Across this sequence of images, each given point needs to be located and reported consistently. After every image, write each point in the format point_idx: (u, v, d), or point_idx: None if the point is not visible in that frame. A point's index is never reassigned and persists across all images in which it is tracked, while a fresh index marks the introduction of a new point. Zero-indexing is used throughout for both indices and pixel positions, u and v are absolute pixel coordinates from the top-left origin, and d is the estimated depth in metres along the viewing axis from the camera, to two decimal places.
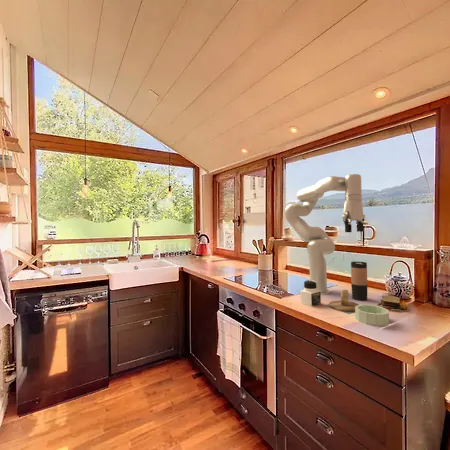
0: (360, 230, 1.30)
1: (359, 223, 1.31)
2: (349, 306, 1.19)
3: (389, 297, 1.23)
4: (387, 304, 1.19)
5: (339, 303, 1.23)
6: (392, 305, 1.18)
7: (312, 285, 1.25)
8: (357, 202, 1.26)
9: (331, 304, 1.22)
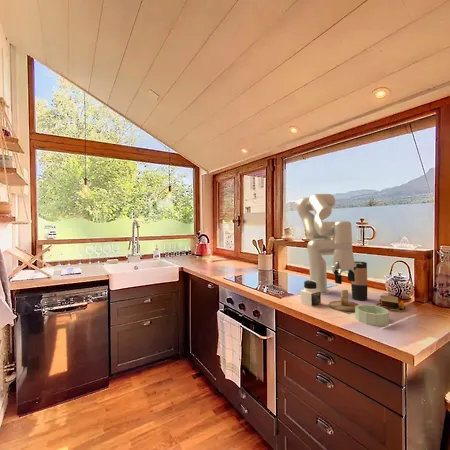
0: (351, 280, 1.22)
1: (350, 272, 1.22)
2: (349, 306, 1.19)
3: (387, 297, 1.23)
4: (386, 304, 1.20)
5: (339, 303, 1.23)
6: (391, 305, 1.19)
7: (312, 285, 1.25)
8: (347, 251, 1.18)
9: (331, 304, 1.22)
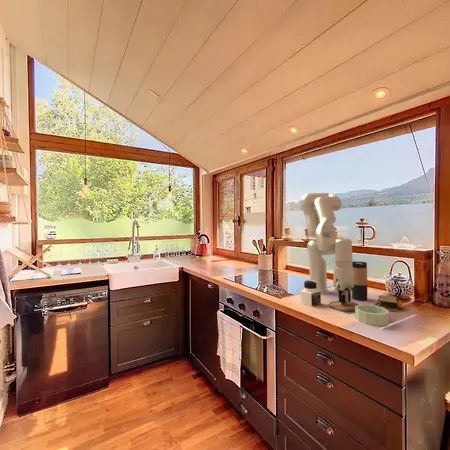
0: None
1: None
2: (349, 306, 1.19)
3: (386, 297, 1.23)
4: (384, 304, 1.20)
5: (339, 303, 1.23)
6: (389, 305, 1.19)
7: (312, 285, 1.25)
8: (347, 269, 1.18)
9: (331, 304, 1.22)
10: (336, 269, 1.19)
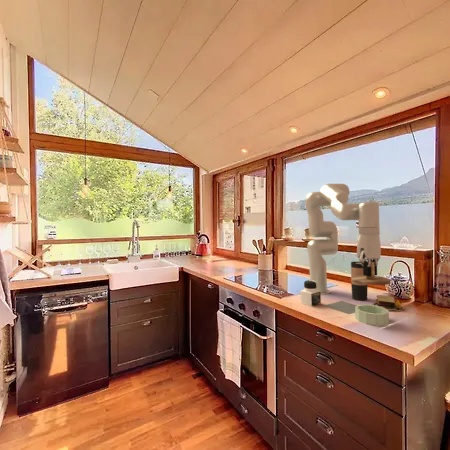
0: None
1: None
2: (376, 279, 1.03)
3: (384, 297, 1.23)
4: (382, 304, 1.20)
5: (363, 277, 1.07)
6: (387, 305, 1.19)
7: (312, 285, 1.25)
8: (374, 237, 1.02)
9: (354, 278, 1.06)
10: (361, 237, 1.03)
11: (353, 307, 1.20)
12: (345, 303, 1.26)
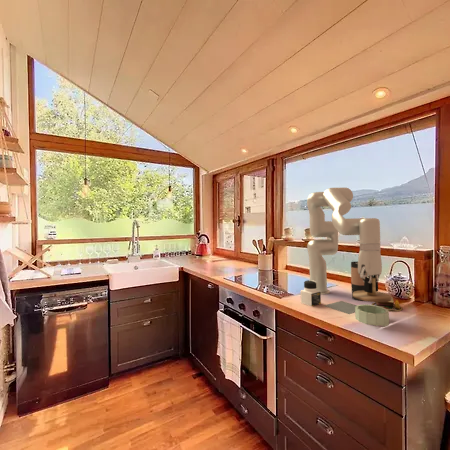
0: None
1: None
2: (377, 295, 1.02)
3: None
4: (381, 304, 1.20)
5: (364, 293, 1.07)
6: (386, 305, 1.19)
7: (312, 285, 1.25)
8: (375, 253, 1.02)
9: (355, 294, 1.05)
10: (361, 253, 1.03)
11: (353, 307, 1.20)
12: (345, 303, 1.26)
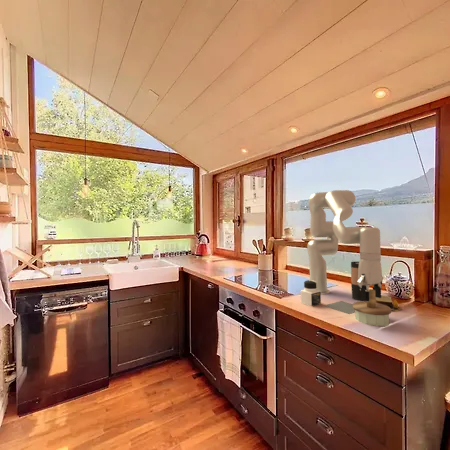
0: (377, 296, 1.06)
1: (376, 286, 1.06)
2: (377, 308, 1.03)
3: (381, 297, 1.24)
4: None
5: (364, 305, 1.07)
6: (385, 304, 1.19)
7: (312, 285, 1.25)
8: (375, 262, 1.02)
9: (355, 306, 1.06)
10: (362, 262, 1.03)
11: None
12: (345, 303, 1.26)
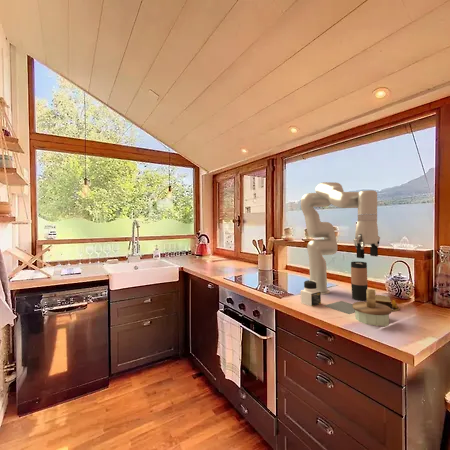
0: (374, 255, 1.13)
1: (373, 246, 1.13)
2: (377, 308, 1.03)
3: (379, 296, 1.24)
4: None
5: (364, 305, 1.07)
6: (383, 304, 1.20)
7: (312, 285, 1.25)
8: (372, 223, 1.08)
9: (355, 306, 1.06)
10: (359, 223, 1.09)
11: None
12: (345, 303, 1.26)
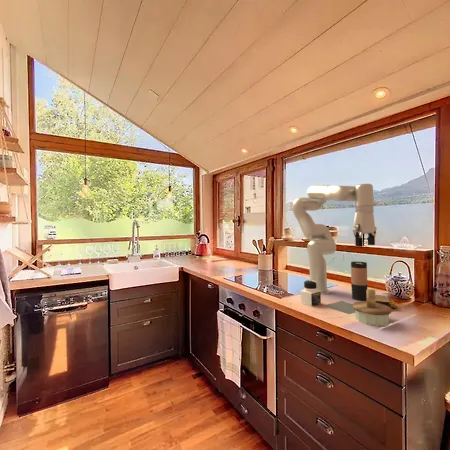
0: (371, 243, 1.21)
1: (370, 236, 1.22)
2: (377, 308, 1.03)
3: (378, 296, 1.24)
4: None
5: (364, 305, 1.07)
6: None
7: (312, 285, 1.25)
8: (369, 214, 1.17)
9: (355, 306, 1.06)
10: (357, 214, 1.18)
11: None
12: (345, 303, 1.26)
